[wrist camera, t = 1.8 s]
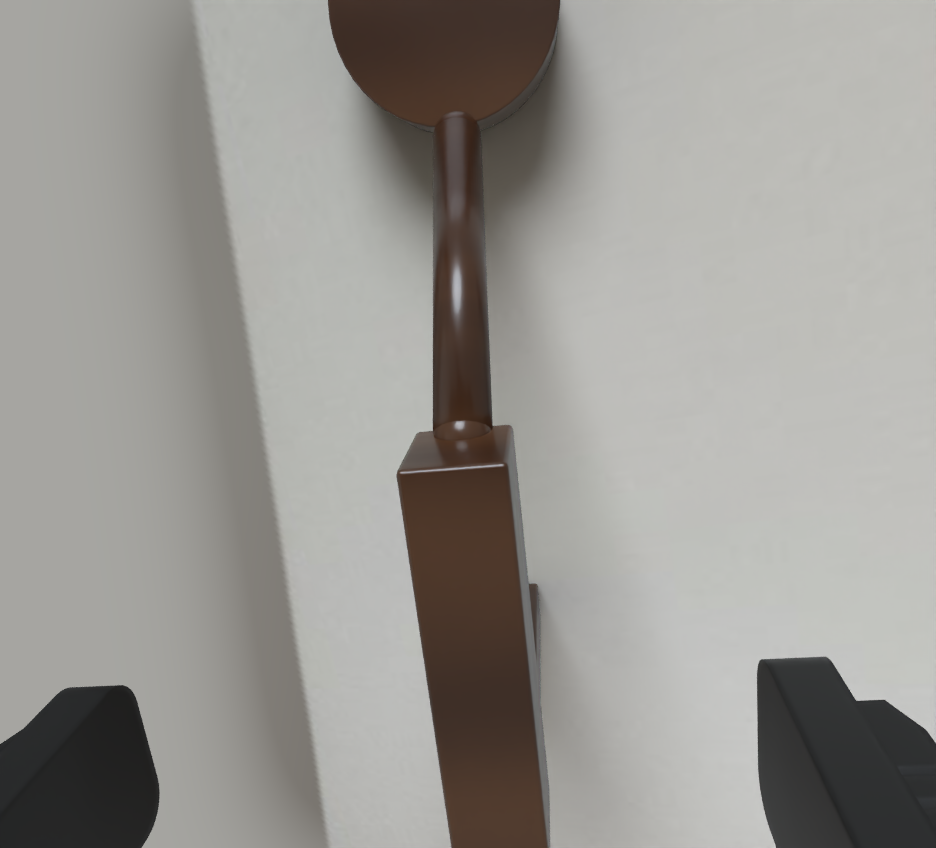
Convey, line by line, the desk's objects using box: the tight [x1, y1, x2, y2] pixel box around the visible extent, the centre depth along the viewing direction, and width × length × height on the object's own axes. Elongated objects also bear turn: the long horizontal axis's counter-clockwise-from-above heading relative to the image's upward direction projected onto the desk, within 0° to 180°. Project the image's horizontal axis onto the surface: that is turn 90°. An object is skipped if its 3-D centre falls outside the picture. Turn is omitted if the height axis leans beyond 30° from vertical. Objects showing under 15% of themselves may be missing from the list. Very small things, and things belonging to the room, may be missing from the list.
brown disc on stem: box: [328, 0, 560, 848], centre depth 18 cm, size 21×6×10 cm, turn 6°
